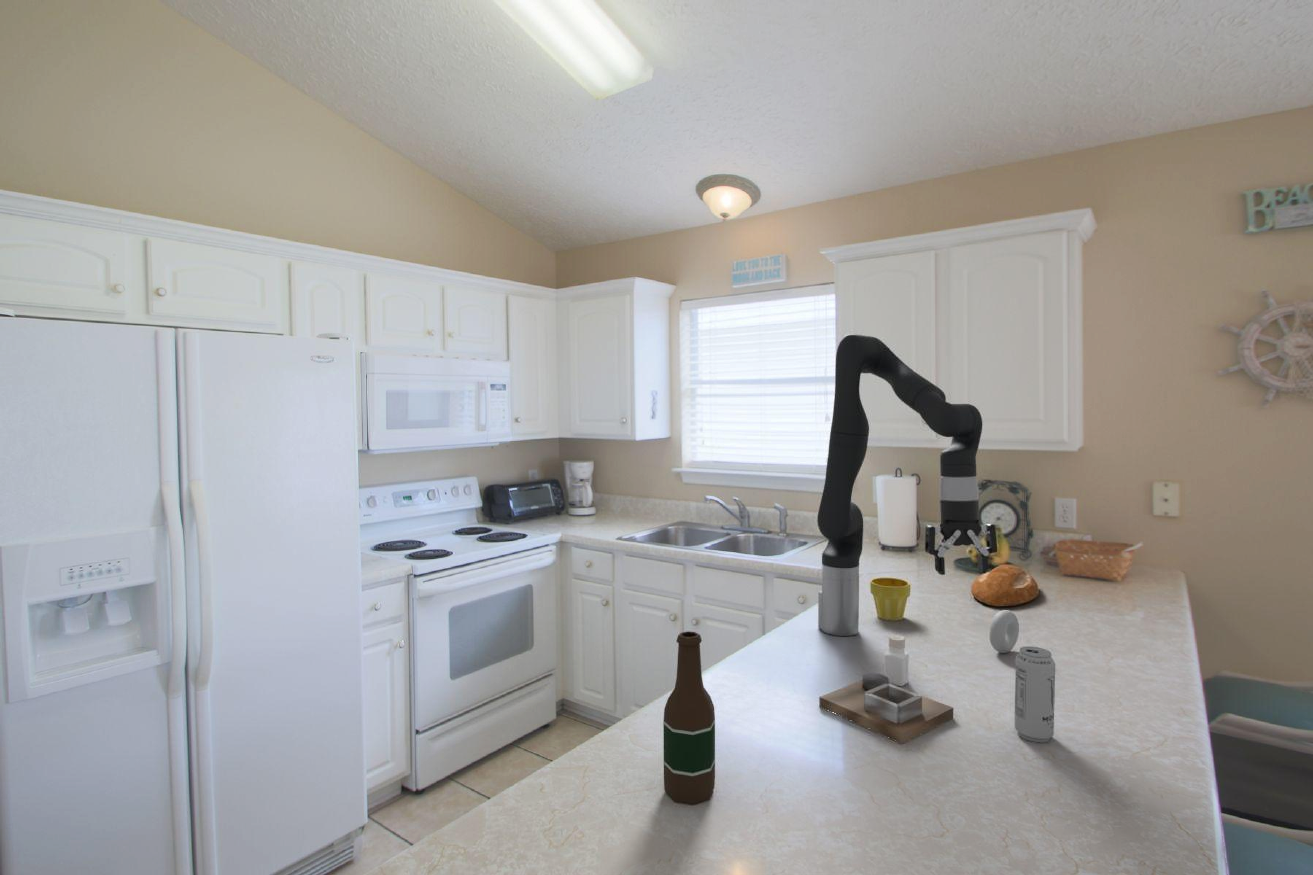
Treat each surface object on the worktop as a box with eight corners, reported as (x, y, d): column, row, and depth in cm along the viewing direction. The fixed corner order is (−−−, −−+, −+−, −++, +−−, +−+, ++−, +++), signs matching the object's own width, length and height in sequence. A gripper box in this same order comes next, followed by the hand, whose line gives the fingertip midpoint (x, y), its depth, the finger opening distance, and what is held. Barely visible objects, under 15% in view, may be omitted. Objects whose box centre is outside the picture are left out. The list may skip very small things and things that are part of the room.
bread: (1047, 588, 216) (1048, 560, 215) (1025, 615, 188) (1025, 583, 188) (987, 579, 227) (988, 553, 226) (958, 603, 199) (958, 573, 199)
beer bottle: (661, 778, 106) (660, 626, 105) (710, 775, 107) (710, 624, 105) (666, 807, 98) (665, 644, 97) (719, 804, 99) (719, 642, 98)
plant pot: (868, 620, 183) (868, 584, 182) (871, 609, 192) (871, 575, 192) (909, 624, 179) (909, 588, 179) (910, 613, 189) (911, 578, 188)
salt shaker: (890, 676, 145) (890, 633, 144) (909, 681, 142) (909, 637, 142) (883, 682, 142) (883, 638, 141) (902, 687, 139) (903, 642, 139)
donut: (1001, 659, 154) (1001, 616, 154) (985, 655, 157) (986, 612, 157) (1021, 649, 161) (1022, 608, 160) (1006, 645, 163) (1007, 604, 163)
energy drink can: (1052, 747, 115) (1054, 660, 114) (1012, 738, 118) (1014, 653, 117) (1054, 732, 120) (1056, 649, 119) (1015, 724, 123) (1017, 642, 122)
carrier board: (819, 706, 131) (819, 681, 130) (870, 686, 140) (870, 662, 140) (902, 744, 116) (902, 715, 116) (953, 718, 126) (953, 691, 125)
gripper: (985, 495, 148) (987, 569, 148) (919, 496, 149) (921, 571, 149) (1001, 498, 141) (1004, 576, 141) (931, 500, 141) (934, 578, 141)
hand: (961, 573), depth 145 cm, fingers open, 8 cm apart
